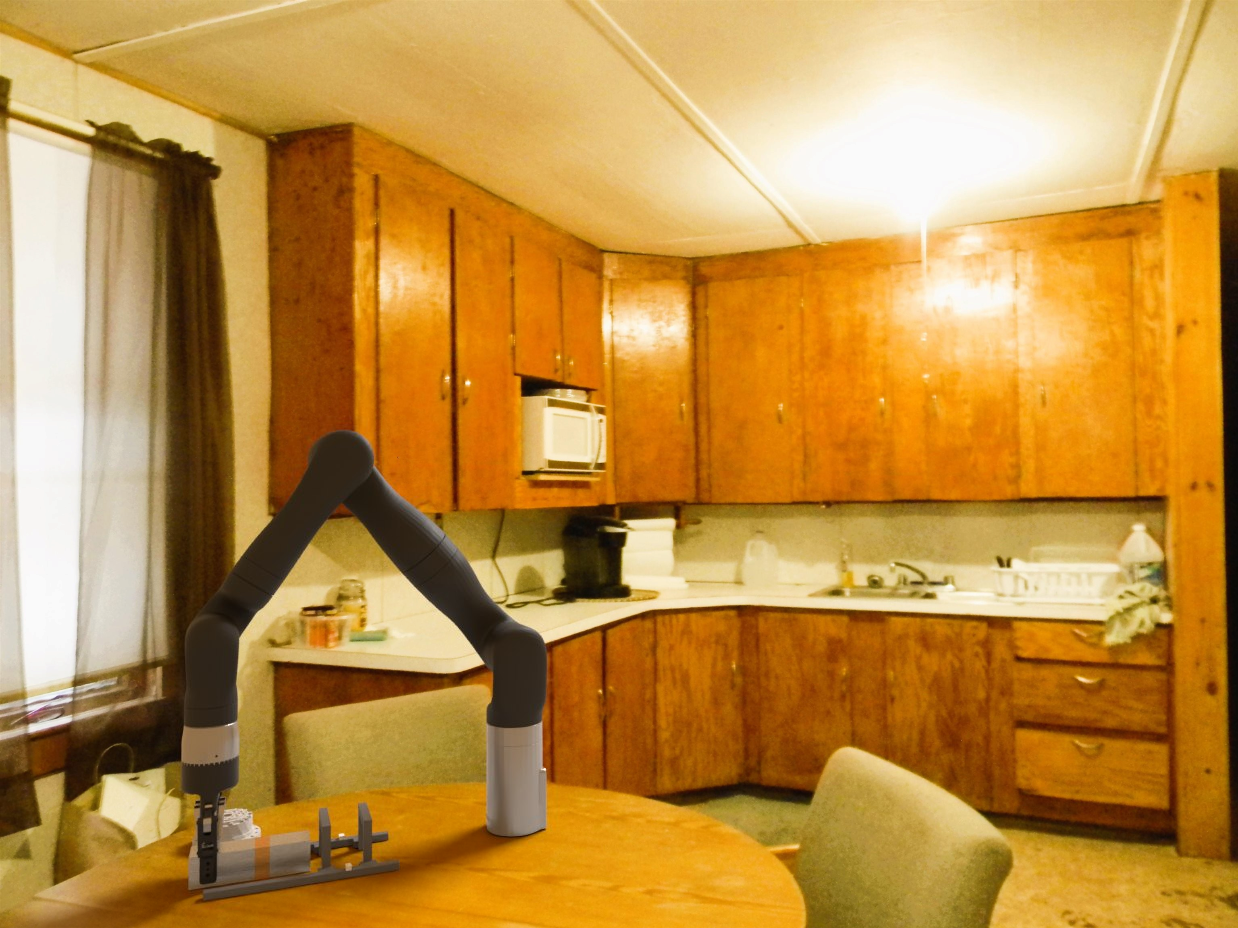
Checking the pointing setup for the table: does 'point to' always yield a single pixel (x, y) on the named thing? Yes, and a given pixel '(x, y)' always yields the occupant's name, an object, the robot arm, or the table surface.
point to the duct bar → (255, 859)
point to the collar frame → (323, 859)
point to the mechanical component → (236, 826)
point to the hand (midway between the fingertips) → (209, 875)
